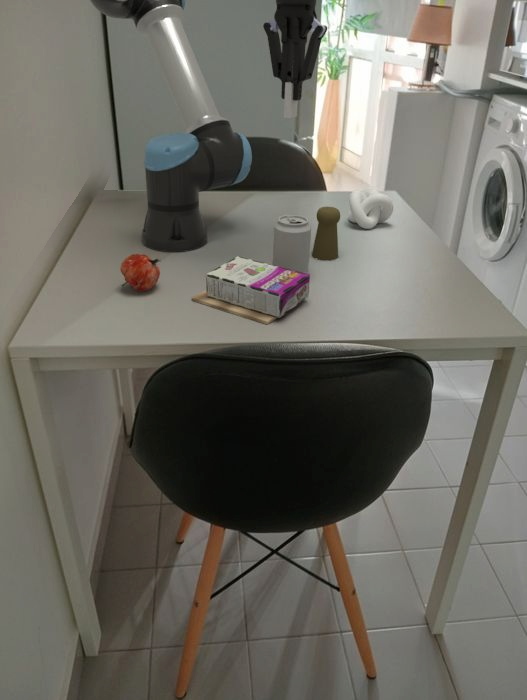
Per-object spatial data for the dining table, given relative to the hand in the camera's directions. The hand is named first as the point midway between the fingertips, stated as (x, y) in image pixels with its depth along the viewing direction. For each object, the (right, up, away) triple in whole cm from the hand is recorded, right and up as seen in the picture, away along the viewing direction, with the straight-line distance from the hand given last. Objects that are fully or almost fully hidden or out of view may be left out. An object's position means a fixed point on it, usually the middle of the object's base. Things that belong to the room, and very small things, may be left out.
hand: (290, 117), depth 123 cm
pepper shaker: (+9, -26, +15) cm, 31 cm away
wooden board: (-8, -37, -6) cm, 39 cm away
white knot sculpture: (+21, -15, +35) cm, 43 cm away
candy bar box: (+1, -38, -12) cm, 40 cm away
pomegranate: (-30, -35, -4) cm, 46 cm away
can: (0, -31, +5) cm, 32 cm away
